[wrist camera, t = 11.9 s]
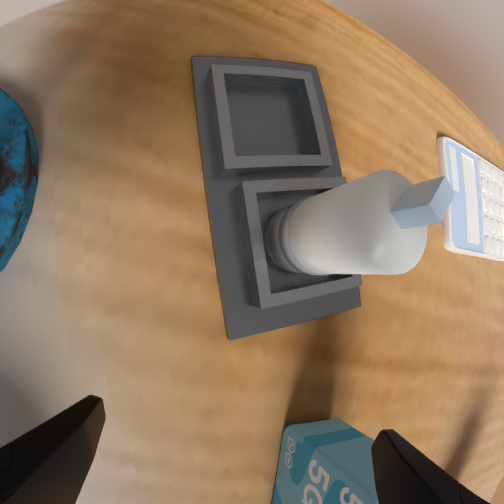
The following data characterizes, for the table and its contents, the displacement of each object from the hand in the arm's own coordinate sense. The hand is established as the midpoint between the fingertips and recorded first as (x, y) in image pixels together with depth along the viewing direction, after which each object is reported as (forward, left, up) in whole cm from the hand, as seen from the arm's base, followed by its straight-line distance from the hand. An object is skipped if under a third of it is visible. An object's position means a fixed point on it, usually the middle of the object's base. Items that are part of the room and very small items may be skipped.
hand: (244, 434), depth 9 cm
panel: (+8, +10, -13) cm, 18 cm away
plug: (+9, +6, -12) cm, 16 cm away
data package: (+7, -14, -13) cm, 20 cm away
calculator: (+38, +7, -13) cm, 41 cm away
